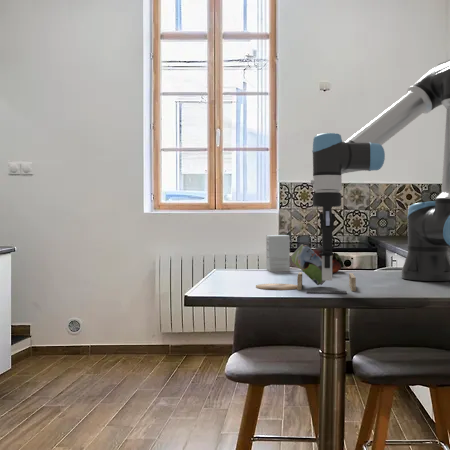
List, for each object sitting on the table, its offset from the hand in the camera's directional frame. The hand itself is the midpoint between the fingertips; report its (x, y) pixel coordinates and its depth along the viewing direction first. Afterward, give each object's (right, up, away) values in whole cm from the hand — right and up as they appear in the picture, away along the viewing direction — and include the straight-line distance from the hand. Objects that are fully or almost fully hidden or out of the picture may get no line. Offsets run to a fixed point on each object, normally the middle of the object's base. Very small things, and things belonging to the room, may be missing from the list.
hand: (327, 280), depth 157 cm
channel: (0, -2, +2) cm, 3 cm away
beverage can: (0, -1, +4) cm, 4 cm away
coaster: (-13, -2, +3) cm, 13 cm away
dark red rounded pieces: (+12, -3, +42) cm, 44 cm away
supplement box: (-9, -2, +49) cm, 50 cm away
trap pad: (-1, -3, -8) cm, 8 cm away
